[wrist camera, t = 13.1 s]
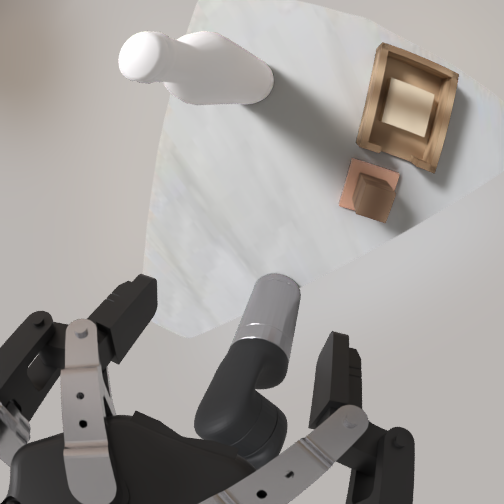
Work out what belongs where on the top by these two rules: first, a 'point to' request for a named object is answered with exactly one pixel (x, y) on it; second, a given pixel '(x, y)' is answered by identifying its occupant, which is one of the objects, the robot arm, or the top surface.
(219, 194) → the top surface
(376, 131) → the oak box
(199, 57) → the bottle
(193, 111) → the top surface
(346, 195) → the terracotta tile
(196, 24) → the top surface
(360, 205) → the walnut block
